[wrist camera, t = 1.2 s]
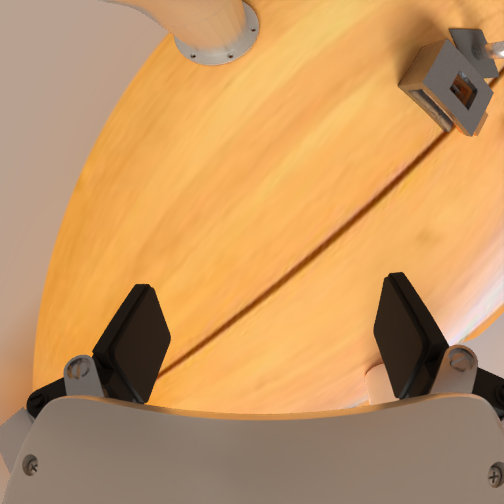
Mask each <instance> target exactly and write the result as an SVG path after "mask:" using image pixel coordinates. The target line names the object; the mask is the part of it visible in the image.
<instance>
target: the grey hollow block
mask: <svg viewBox="0 0 504 504" xmlns="http://www.w3.org/2000/svg"><path fill="white" fill-rule="evenodd" d="M398 87H399V88H400V89H401V90H402V91H404V92H405V93H406V94H407V95H408V96H409V97H410V98H411V99H412V100H414V101H415V102H416V103H417V104H418V105H419V106H420V107H421V108H422V109H423V110H424V111H425V112H426V113H427V114H428V115H429V116H430V117H431V118H432V119H433V120H434V121H435V122H436V123H437V124H438V125H439V126H440V127H441V128H442V129H443V130H444V131H446V132H449V131H450V130H451V128H452V126H453V125H454V126H455V127H456V128H457V129H458V130H459V132H461V133H463V134H464V135H466V136H471V137H472V136H473V135H475V136H478V134H479V132H480V130H481V128H482V126H483V125H484V123H485V121H486V118H487V116H488V114H487V113H486V111H485V110H486V108H487V106H488V104H489V102H490V100H491V97H492V95H493V91H492V90H491V89H490V87H489V86H488V85H487V83H486V82H485V81H484V79H483V78H482V77H481V76H480V74H479V73H478V72H477V71H476V70H475V68H474V67H473V66H472V65H471V64H470V63H469V61H468V60H467V59H466V58H465V57H464V56H463V55H462V54H461V53H460V51H459V50H458V49H457V48H456V47H455V46H454V45H453V44H452V43H451V42H450V41H449V40H448V39H445V40H442V41H438V42H435V43H433V44H430V45H427V46H424V47H422V48H421V49H420V51H419V53H418V54H417V56H416V58H415V59H414V61H413V63H412V64H411V66H410V68H409V69H408V71H407V72H406V74H405V76H404V77H403V79H402V80H401V82H400V84H399V85H398Z"/></svg>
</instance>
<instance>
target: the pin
mask: <svg viewBox="0 0 504 504" xmlns="http://www.w3.org/2000/svg"><path fill="white" fill-rule="evenodd" d="M472 54H473V56H474V57H475V58H476V59H477V60H478V61H482V60H492V59H504V41H502V42H495V43H488V44H483V45H477V46H473V47H472Z"/></svg>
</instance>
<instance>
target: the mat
mask: <svg viewBox="0 0 504 504" xmlns="http://www.w3.org/2000/svg"><path fill="white" fill-rule="evenodd" d="M449 31H450V34H451V36H452V38H453V40H454V42H455V45H456V47H457V49H458V50H459V51H460V53H461V54H462V55H463V56H464V57H465V58H466V59H467V60H468V61H469V63H470V64H471V65H472V66H473V67H474V68H475V70H476V71H477V72H478V73H479V74H480V76H481V77H482V78H493V77H499V74H498V71H497V68H496V65H495V62H494V59H492V60H482V61H478V60H477V59H476V58H475V57H474V56H473V54H472V47H473V46H477V45H483V44H487V41H486V39H485V37H484V34H483V32H482V30H468V29H449Z"/></svg>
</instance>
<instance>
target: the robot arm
mask: <svg viewBox="0 0 504 504" xmlns="http://www.w3.org/2000/svg"><path fill="white" fill-rule="evenodd" d="M99 1H104V2H109V3H113V4H119V5H124V6H128V7H131V8H134V9H136V10H138V11H140V12H141V13H143V14H145V15H146V16H148V17H149V18H151V19H152V20H154V21H155V22H156V23H158V24H159V25H161V26H162V27H164V28H165V29H166V30H168V31H169V32H170V33H172V34H173V35H174V38H175V43H176V46H177V48H178V49H179V51H180V52H181V53H182V54H183V55H184V56H185V57H186V58H188V59H189V60H191V61H193V62H195V63H197V64H201V65H207V66H217V65H223V64H228V63H230V62H233V61H235V60H237V59H239V58H241V57H242V56H244V55H245V54H246V53H247V52H248V51H249V50H250V49H251V48H252V47H253V45H254V44H255V42H256V40H257V37H258V34H259V21H258V18H257V15H256V13H255V12H254V10H253V9H252V8H251V7H250V6H249V5H248V4H246V3H245V2H243V1H242V0H99ZM252 30H255V31H254V32H252ZM193 56H196V57H195V58H193ZM230 56H233V57H232V58H230ZM374 336H375V339H376V342H377V344H378V347H379V350H380V353H381V356H382V359H383V362H384V365H385V368H386V371H387V374H388V377H389V380H390V383H391V386H392V390H393V393H394V396H395V398H399V400H397V401H392V402H387V403H381V404H375V405H369V406H362V407H356V408H348V409H340V410H331V411H321V412H307V413H289V414H232V413H214V412H200V411H190V410H181V409H172V408H165V407H158V406H152V405H145V404H144V403H147V402H148V400H149V397H150V395H151V392H152V389H153V386H154V384H155V381H156V378H157V375H158V373H159V370H160V367H161V365H162V362H163V360H164V357H165V354H166V352H167V349H168V347H169V344H170V341H171V335H170V332H169V329H168V327H167V324H166V321H165V319H164V316H163V313H162V310H161V307H160V304H159V301H158V298H157V295H156V292H155V290H154V288H152V287H151V286H150V285H149V284H136V285H135V286H134V287H133V288H132V290H131V291H130V293H129V294H128V296H127V297H126V299H125V300H124V302H123V303H122V305H121V306H120V308H119V309H118V311H117V312H116V314H115V315H114V317H113V318H112V320H111V322H110V323H109V325H108V326H107V328H106V329H105V331H104V333H103V334H102V336H101V337H100V339H99V341H98V342H97V344H96V346H95V347H94V349H93V351H92V352H93V353H94V354H93V356H92V358H91V357H90V356H88V355H79V356H76V357H74V358H72V359H71V360H70V361H69V362H68V363H67V364H66V366H65V368H64V377H63V378H61V379H59V380H57V381H55V382H53V383H51V384H48V385H46V386H44V387H42V388H40V389H38V390H36V391H34V392H33V393H32V394H31V395H30V396H29V398H28V400H27V409H25V408H24V407H23V408H21V410H19V411H18V412H17V413H16V414H14V415H13V416H12V417H11V418H10V419H8V420H7V421H6V422H5V423H4V424H3V425H1V426H0V452H1V454H2V456H3V459H4V461H5V464H6V466H7V468H8V470H9V472H10V474H11V475H10V478H9V481H8V484H7V488H6V491H5V495H4V499H3V503H2V504H504V379H503V378H501V377H499V376H496V375H494V374H492V373H490V372H488V371H485V370H483V369H481V368H479V367H478V360H477V357H476V355H475V353H474V352H473V351H472V350H471V349H470V348H468V347H466V346H463V345H453V346H450V347H449V345H448V343H447V341H446V339H445V338H444V336H443V334H442V332H441V331H440V329H439V327H438V325H437V324H436V322H435V320H434V319H433V317H432V315H431V314H430V312H429V311H428V309H427V307H426V306H425V304H424V303H423V301H422V300H421V298H420V297H419V295H418V294H417V292H416V291H415V289H414V287H413V286H412V284H411V283H410V282H409V280H408V279H407V277H406V276H405V274H404V273H403V272H397V273H390V274H389V275H388V277H385V278H384V282H383V287H382V292H381V297H380V302H379V307H378V311H377V315H376V320H375V324H374Z"/></svg>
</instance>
